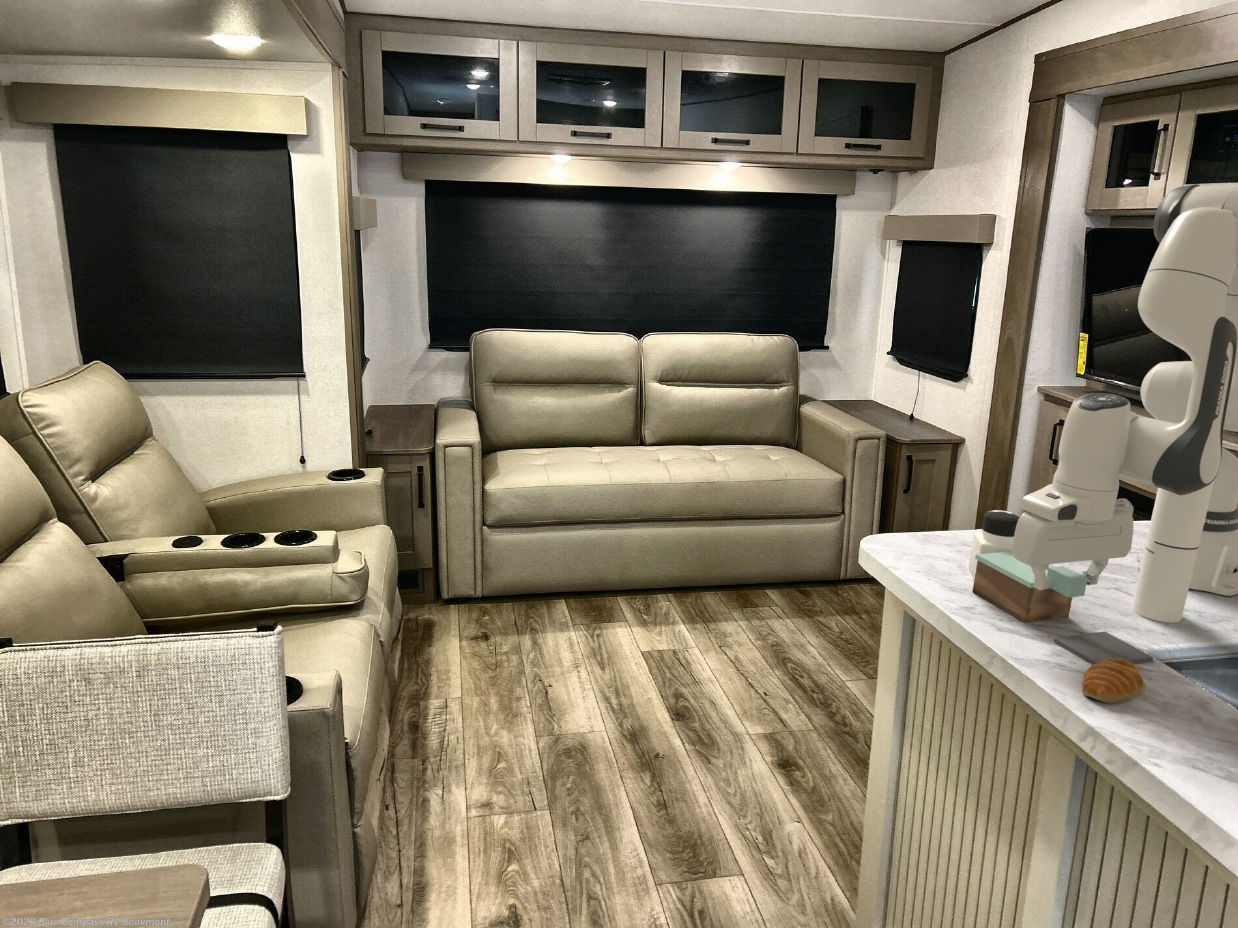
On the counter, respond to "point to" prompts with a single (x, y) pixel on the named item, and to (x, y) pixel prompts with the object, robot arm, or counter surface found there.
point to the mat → (1102, 648)
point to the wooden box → (1019, 596)
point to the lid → (1008, 565)
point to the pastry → (1112, 681)
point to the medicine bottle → (993, 535)
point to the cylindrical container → (1170, 554)
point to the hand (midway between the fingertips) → (1065, 586)
